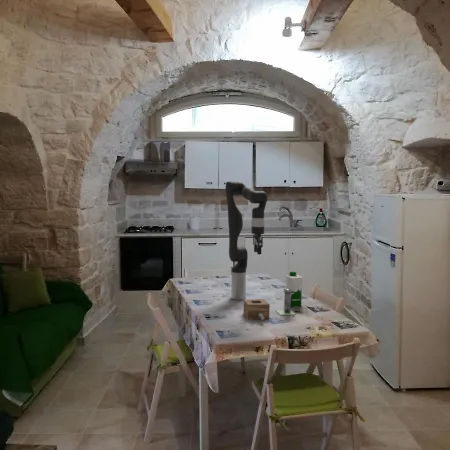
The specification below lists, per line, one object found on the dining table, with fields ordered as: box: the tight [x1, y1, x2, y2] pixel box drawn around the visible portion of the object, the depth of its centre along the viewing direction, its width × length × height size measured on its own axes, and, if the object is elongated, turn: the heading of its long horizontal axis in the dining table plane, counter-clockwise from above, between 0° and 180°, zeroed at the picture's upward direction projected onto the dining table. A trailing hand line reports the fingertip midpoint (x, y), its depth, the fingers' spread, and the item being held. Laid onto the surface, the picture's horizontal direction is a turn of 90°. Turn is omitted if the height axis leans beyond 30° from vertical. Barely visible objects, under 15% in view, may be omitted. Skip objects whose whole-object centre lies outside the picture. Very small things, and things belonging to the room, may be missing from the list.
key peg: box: [283, 287, 292, 313], centre depth 265 cm, size 5×5×13 cm
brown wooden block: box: [242, 298, 270, 321], centre depth 255 cm, size 21×12×8 cm, turn 9°
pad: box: [275, 309, 296, 317], centre depth 266 cm, size 9×9×1 cm
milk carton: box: [285, 271, 304, 308], centre depth 282 cm, size 9×9×20 cm
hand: (257, 253), depth 272 cm, fingers open, 8 cm apart
